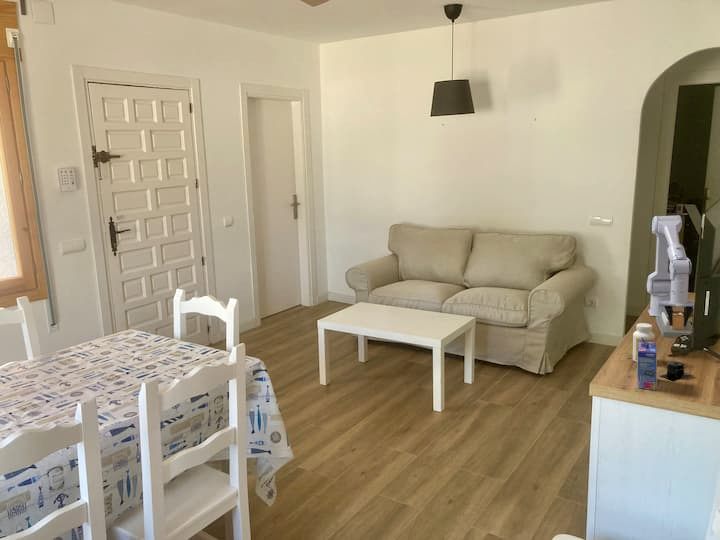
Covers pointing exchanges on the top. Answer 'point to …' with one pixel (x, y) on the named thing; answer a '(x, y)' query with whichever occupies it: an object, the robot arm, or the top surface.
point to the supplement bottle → (642, 336)
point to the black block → (675, 372)
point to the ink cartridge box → (647, 365)
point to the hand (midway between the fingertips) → (677, 325)
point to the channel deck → (668, 331)
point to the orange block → (678, 321)
